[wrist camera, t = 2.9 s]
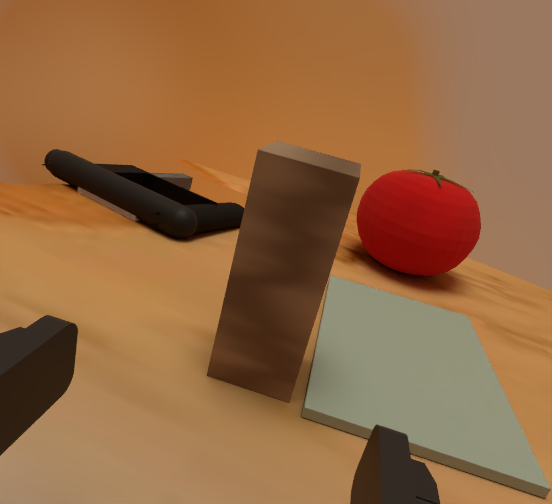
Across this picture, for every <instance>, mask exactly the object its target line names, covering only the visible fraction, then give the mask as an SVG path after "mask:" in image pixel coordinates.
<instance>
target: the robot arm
mask: <svg viewBox="0 0 552 504" xmlns="http://www.w3.org/2000/svg"><path fill="white" fill-rule="evenodd" d="M77 334H78V328H77V326H76V324H74V323H71V322H68V321H65V320H62V319H59V318H56V317H53V316H49V315H46V316H44V317H42V318H40V319H39V320H37V321H36V322H34V323H33V324H31V325H30V326H28V327H27V328H22V327H19V328H16V329H12V330H9V331H6V332H3V333H0V455H1V454H2V453H3V452H4V451H5V450H7V449H8V448H9V447H10V446H11V445H12V444H13V443H14V442H15V441H16V440H17V439H18V438H19V437H20V436H21V435H22V434H23V433H24V432H25V431H26V430H27V429H28V428H29V427H30V426H31V425H32V424H33V423H34V422H35V421H36V420H38V419H39V418H40V417H41V416H42V415H43V414H44V413H45V412H46V411H47V410H48V409H49V408H50V407H51V406H52V405H53V404H54V403H55V402H56V401H57V400H58V399H59V398H60V397H61V396H62V395H63V394H64V393H65V391H66V390H67V388H68V387H69V385H70V383H71V380H72V378H73V374H74V366H75V355H76V345H77ZM350 504H440V500H439V495H438V489H437V484H436V482H435V480H434V479H433V477H432V475H431V474H430V472H429V470H428V468H427V467H426V465H425V463H422V462H419V461H416V460H413V459H411V456H410V448H409V441H408V436H407V434H405V433H402V432H399V431H396V430H393V429H390V428H387V427H384V426H381V425H378V424H377V425H375V427H374V428H373V430H372V433H371V435H370V438H369V440H368V442H367V445H366V447H365V450H364V452H363V455H362V457H361V460H360V462H359V465H358V467H357V470H356V473H355V476H354V480H353V484H352V490H351V503H350Z"/></svg>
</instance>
